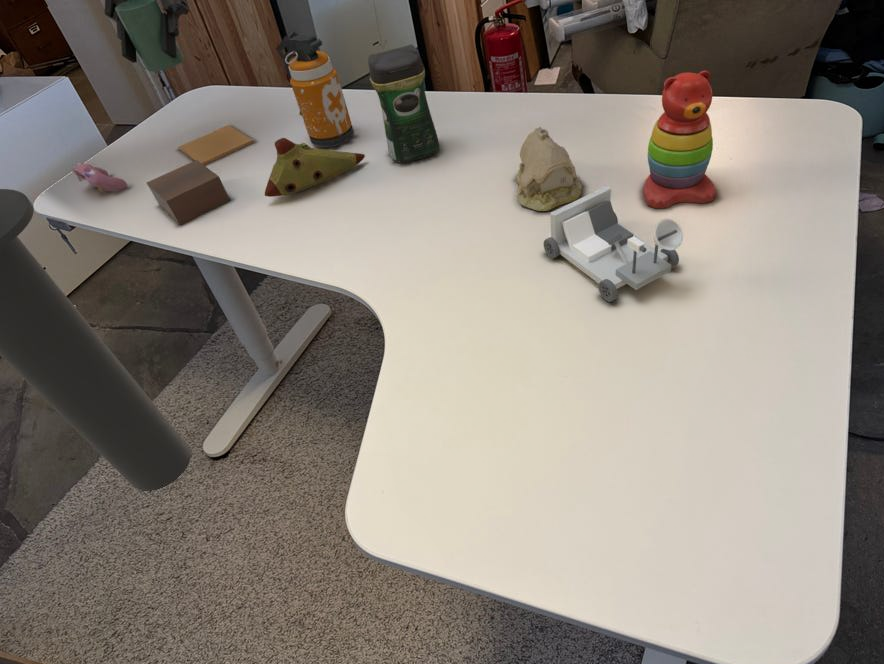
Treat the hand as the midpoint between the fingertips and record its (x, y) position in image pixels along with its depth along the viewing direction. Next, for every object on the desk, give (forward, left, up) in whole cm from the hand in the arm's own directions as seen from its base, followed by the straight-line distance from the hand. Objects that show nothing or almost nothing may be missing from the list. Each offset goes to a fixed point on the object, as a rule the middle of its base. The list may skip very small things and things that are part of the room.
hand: (149, 56), depth 106 cm
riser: (+12, -7, -22) cm, 26 cm away
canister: (+12, +23, -22) cm, 34 cm away
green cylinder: (-2, +2, -3) cm, 4 cm away
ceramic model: (+61, +36, -22) cm, 74 cm away
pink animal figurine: (-10, -17, -22) cm, 30 cm away
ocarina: (+26, +12, -22) cm, 36 cm away
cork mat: (-7, +6, -22) cm, 24 cm away
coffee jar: (+32, +30, -22) cm, 49 cm away
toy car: (+83, +27, -22) cm, 90 cm away
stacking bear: (+78, +48, -22) cm, 94 cm away
